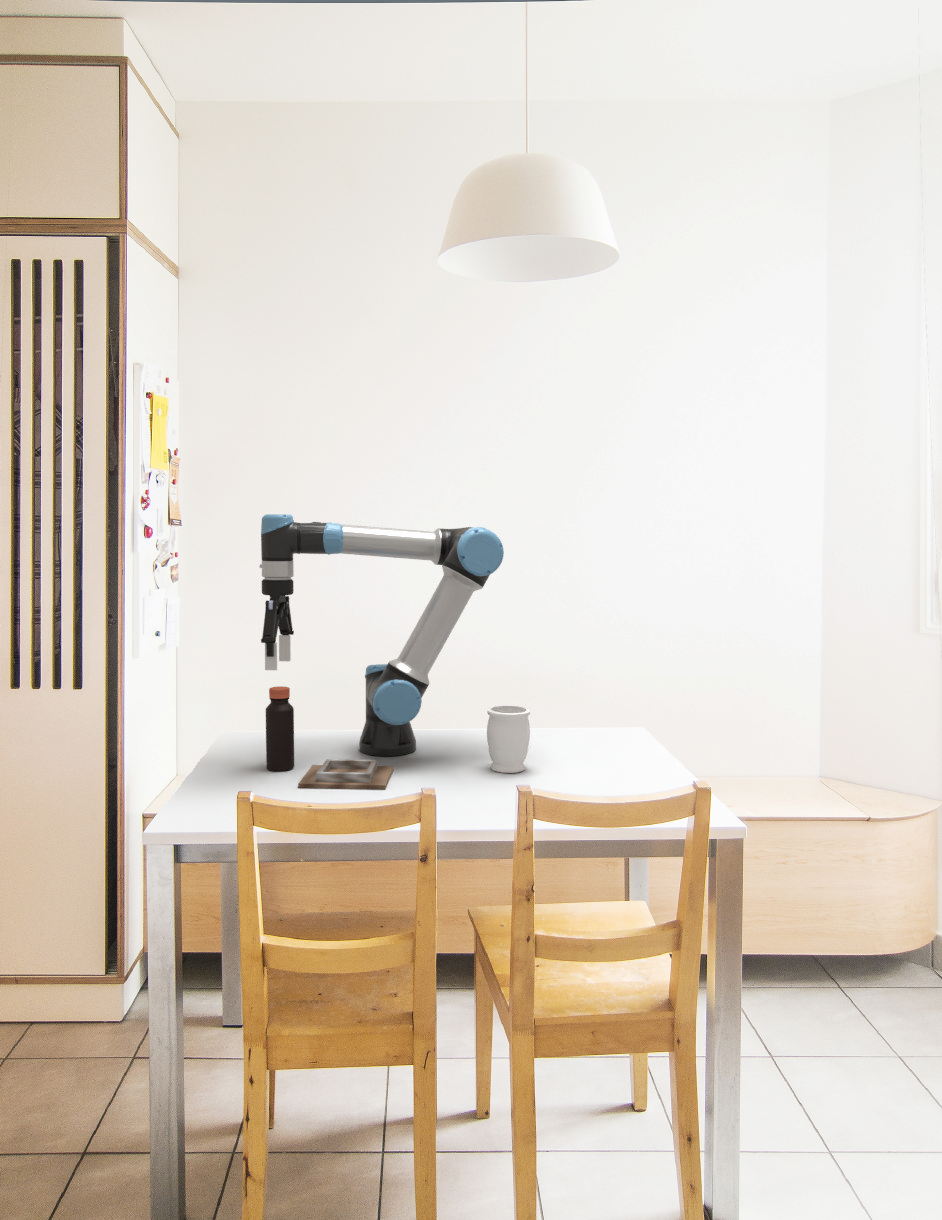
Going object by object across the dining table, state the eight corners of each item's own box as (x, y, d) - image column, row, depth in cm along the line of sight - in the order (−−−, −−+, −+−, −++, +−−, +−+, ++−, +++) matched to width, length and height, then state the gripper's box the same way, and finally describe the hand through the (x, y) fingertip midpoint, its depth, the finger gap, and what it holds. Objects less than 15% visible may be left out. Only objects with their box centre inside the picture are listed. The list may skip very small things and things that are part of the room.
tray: (393, 770, 226) (393, 758, 226) (385, 789, 210) (385, 776, 210) (312, 768, 227) (312, 756, 227) (298, 787, 211) (298, 775, 211)
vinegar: (292, 771, 224) (291, 690, 222) (264, 772, 224) (263, 691, 222) (295, 764, 231) (295, 685, 229) (268, 764, 230) (267, 685, 228)
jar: (534, 766, 231) (535, 707, 230) (522, 776, 222) (523, 715, 220) (493, 761, 235) (494, 703, 233) (480, 772, 225) (481, 711, 224)
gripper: (274, 574, 235) (275, 657, 237) (247, 581, 210) (248, 673, 212) (304, 575, 235) (304, 657, 237) (280, 582, 210) (281, 674, 212)
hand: (278, 665), depth 225 cm, fingers open, 13 cm apart
